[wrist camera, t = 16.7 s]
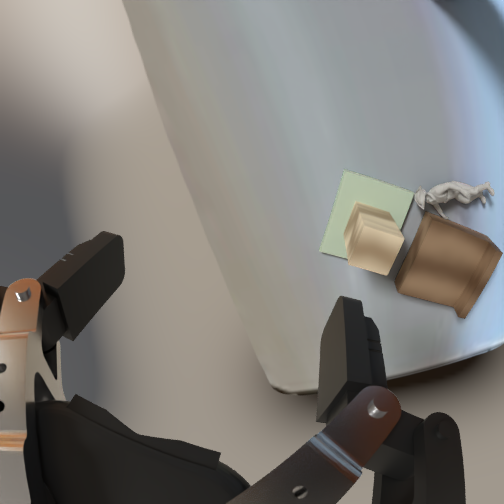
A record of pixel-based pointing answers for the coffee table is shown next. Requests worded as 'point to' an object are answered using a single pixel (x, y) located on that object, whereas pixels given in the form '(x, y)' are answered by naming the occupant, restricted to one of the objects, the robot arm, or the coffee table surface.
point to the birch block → (372, 239)
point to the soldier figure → (451, 194)
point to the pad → (367, 193)
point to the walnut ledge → (447, 264)
